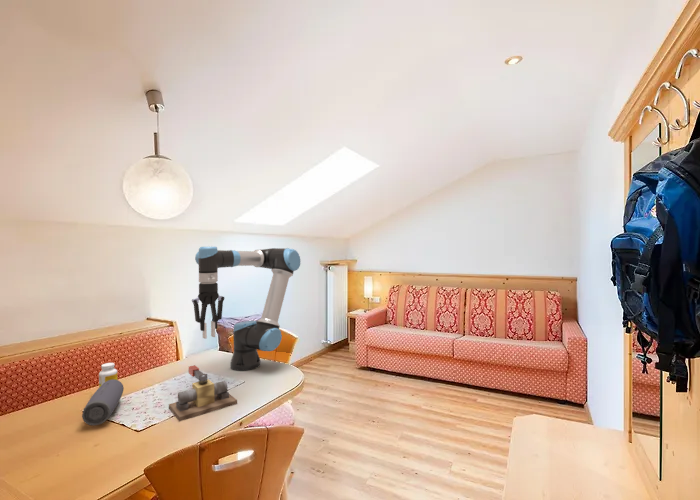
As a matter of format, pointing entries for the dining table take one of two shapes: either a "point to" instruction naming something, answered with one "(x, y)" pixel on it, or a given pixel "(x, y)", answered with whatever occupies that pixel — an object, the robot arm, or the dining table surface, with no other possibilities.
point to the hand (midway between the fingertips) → (208, 337)
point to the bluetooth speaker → (103, 402)
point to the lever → (198, 374)
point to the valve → (202, 400)
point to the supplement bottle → (107, 373)
